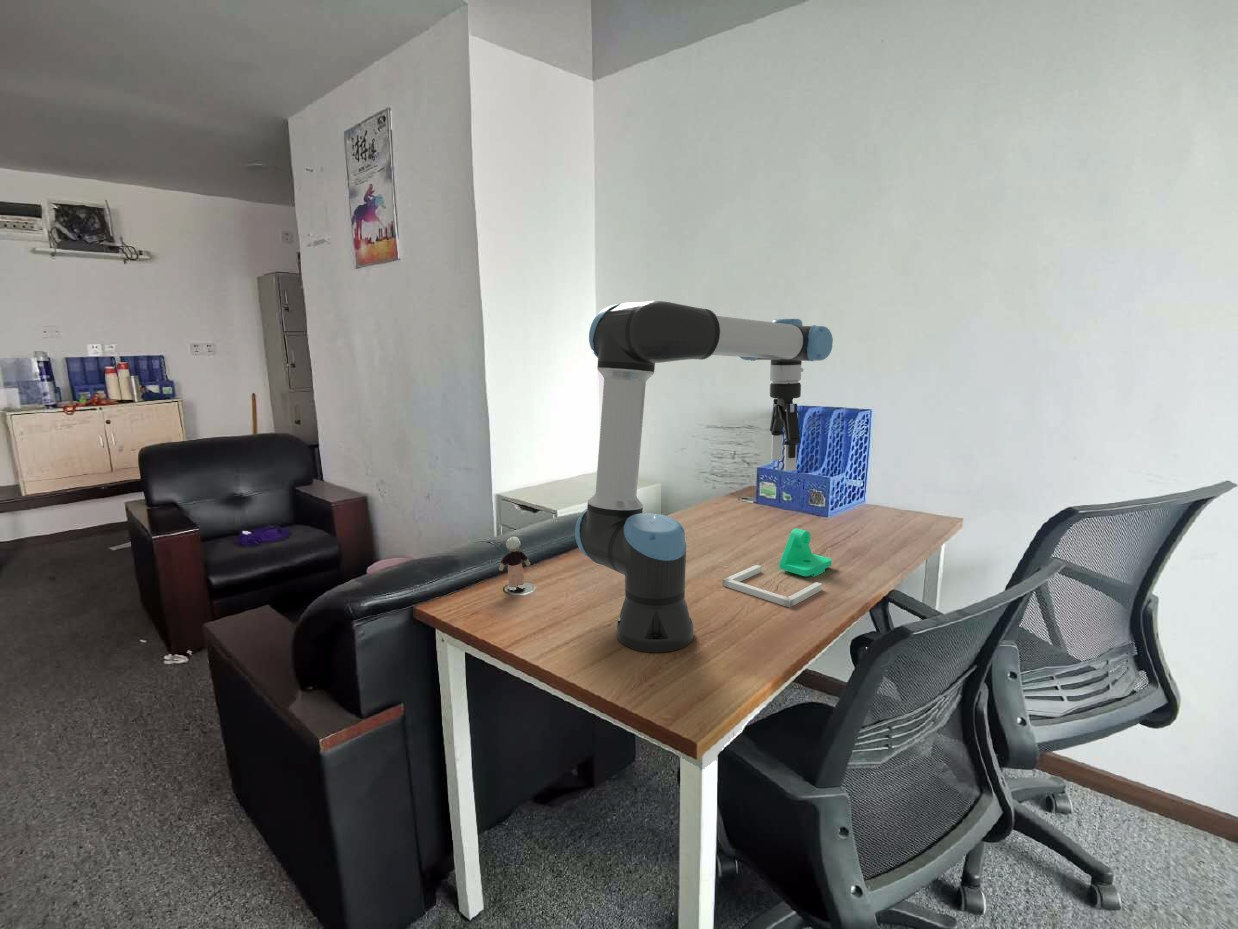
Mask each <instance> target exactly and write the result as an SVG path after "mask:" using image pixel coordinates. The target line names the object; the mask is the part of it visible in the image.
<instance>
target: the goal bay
mask: <svg viewBox="0 0 1238 929" xmlns="http://www.w3.org/2000/svg"><path fill="white" fill-rule="evenodd" d="M761 572H762V566H761V565H759V564H755V565H752V566H750V567H748V568H746V569H744V570H740V571H739V572H737V573H735V574H732V575H730V576H727V577H725V578H723V579H721V580H722V587H723V586H724V587H725V588H729V589H732V590H734V591H738V592H741V593H744V594H747V595H750V596H753V597H756V598H759V599H762V600H765V601H769V602H772V603H774V604H777V605H780V606H783V607H786V608H789V609H790V608H792V607H794V606H795V605H797V604H799V603H801V602H802V601H805V600H806V599H808V598H810V597H811V596H813V595H815V594H817V593H819V592H820V591H822V590H823V583H821V582H817V581H815V582H813V583H812V584H810V585H808V586H806V587H804V588H802V589H800V590H799V591H797V592H795V593H793V594H791V595H789V596H785V595H781V594H779V593H775V592H772V591H769V590H766V589H764V588H760V587H756V586H754V585H750V584H746V583H743V582H742V581H744V580H746V579H749V578H751V577H753V576H755V575H758V574H760V573H761Z"/></svg>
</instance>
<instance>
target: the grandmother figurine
mask: <svg viewBox="0 0 1238 929" xmlns="http://www.w3.org/2000/svg"><path fill="white" fill-rule="evenodd" d="M505 545H506V546H505V547H506V549H507V550H508V551H509V553H506V554H505V555H504V556H503V558H502V559H501V561H500V565H499V567H498V570H499V571H503V570H504V568H505V566H507V579H508V586H509V587H516V588H517V586H518V585H523V584H525V575H524V568H523V563H522V561H523V562H524V564H525V566H527V567H530V565H531V562H530V560H529V559H528V556H527V555H526V554H525V553H524V552H523V551H520V550H519V549H520V547H521V541H520V538H518V537H517V536H511V537H509V538H507V540H506V542H505Z"/></svg>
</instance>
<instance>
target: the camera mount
mask: <svg viewBox="0 0 1238 929" xmlns="http://www.w3.org/2000/svg"><path fill="white" fill-rule="evenodd" d="M811 539H812V537H811V533H810V531H809V530H804V529H801V528H797V527H796V528H792V531H791V532H790V534H789V537H788V539H787V541H786V544H785V547H784V550H783V553H782V555H781V558H780V560H779V565H778V567H779V569H780V570H784V571H786V572H789V573H793V574H795V575H799V576H802V577H809V576H811V577H813V578H814V577H817V576H819V575H822V574H823V572H824V573H825V572H826V569H827V568H830V567H832V558H830V557H826V556H823V555H818V554H817V553H816V554H814V553H813V552H812V550H811V547H810V543H811ZM821 573H822V574H821Z"/></svg>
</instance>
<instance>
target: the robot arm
mask: <svg viewBox="0 0 1238 929" xmlns="http://www.w3.org/2000/svg"><path fill="white" fill-rule="evenodd" d="M590 324H591V325H590V327H589V332H588V342H589V347H590V350H592V351H593V355H594V356H595V357H596V358H597V371H598V372H599V373H600V374H601V376H602V377H603V386H602V387H603V389H602V404H601V415H600V431H599V442H598V444H599V445H598V454H597V455H598V456H597V457H598V458H597V469H596V470H597V471H596V484H595V493H594V494H593V495H592V496H591V497H590V498H589V499H588V500H587V506H586V508H585V509H584V510H583V511H582V514H581V515H580V516H579V517H578V518H577V521H576V524H575V530H574V534H575V535H574V536H575V541H576V545H577V547H578V548H579V551H580V552H581V553H582V554H583V555H584V556H585V557H587V558H589V559H590V560H591V561H592V562H594V563H595V564H598V565H601V566H604V567H606V568H608V569H610V570H613V571H615V572H618V573H619V574H622V575H623V576H624V587H625V588H624V589H625V591H624V596H625V597H624V600H623V603H622V606H621V610H620V614H619V616H618V618H617V621H616V637H617V639H618V641H619V642H620V643H621V644H622V645H624V646H625V647H628V648H629V649H632V650H635V651H638V652H645V653H667V652H674V651H677V650H680V649H683V648H685V647H686V646H689V644H691V642H692V641H693V639H694V622H693V619H692V618H691V616H690V612H689V608H688V604H687V602H686V598H685V597H686V594H685V593H686V566H687V564H686V563H687V562H686V558H687V557H686V556H687V542H686V532H685V528H684V527H683V525H682V524H681V523H680V522H679V520H677V519H675V518H673V517H670V516H668V515H666V514H656V513H654V512H653V513H652V512H643V510H644V504H643V503H642V501H641V500H639V498H638V497H637V496H638V495H637V494H638V483H639V482H638V481H639V469H640V458H641V446H642V434H643V433H642V432H643V424H644V423H643V422H644V421H643V420H644V411H645V410H644V408H645V398H646V388H647V387H646V386H647V381H648V380H649V379H650V378H651V377H652V376H654V375H655V369H656V368H655V367H656V364H659V363H671V362H678V361H687V360H688V361H689V360H707V359H709V358H711V357H712V356H721V357H724V356H725V357H739V358H740V359H741V360H743V361H751V362H752V361H753V362H754V361H762V360H763V361H770V367H769V380H770V381H771V383H770V384H769V396H770V398H772V399H773V402H772V403H773V405H772V406H773V407H772V414H771V420H770V427H769V432H770V433H771V460H772V461H782V460H783V445H784V469H783V470H784V472H787V471H788V472H791V471H797V460H798V459H797V457H798V456H797V455H798V454H797V453H798V450H797V449H798V445H799V444H800V443H801V437H800V426H799V417H798V415H799V414H798V404H797V403H794V401H793V400H794V399H798V398H801V397H802V396H801V394H802V384H801V382H800V381H801V380H802V372H804V368H803V367H802V361H803V362H806V361H807V362H816V361H819V362H820V361H824V360H826V359H827V358H828V357H829V356H830V354H832V350H833V341H834V340H833V334H832V332H831V330H830V329H829V327H827V326H823V325H815V324H814V325H803V321H802V320H801V319H800V318H781V319H780V318H779V319H778V318H776V319H772V321H763V320H755V319H748V318H747V319H746V318H740V317H739V318H737V317H730V316H729V317H728V316H723V315H722V316H721V315H717V314H716V313H715V312H714V311H712V310H711V309H707V308H702V307H696V306H690V305H686V304H681V303H675V302H670V301H664V300H649V301H639V302H636V301H635V302H621V303H616V304H614V305H610V306H609V305H608V306H607V307H605V308H603V309H602V310H601V311H600V312H598V313H597V315H596V316H595V317H594V318H593V320H592V322H591V323H590ZM783 435H784V436H783ZM784 437H785V440H784V442H783V439H784Z"/></svg>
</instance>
